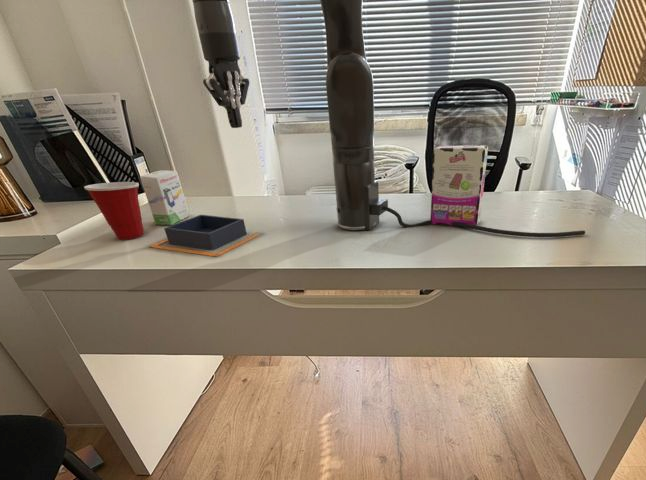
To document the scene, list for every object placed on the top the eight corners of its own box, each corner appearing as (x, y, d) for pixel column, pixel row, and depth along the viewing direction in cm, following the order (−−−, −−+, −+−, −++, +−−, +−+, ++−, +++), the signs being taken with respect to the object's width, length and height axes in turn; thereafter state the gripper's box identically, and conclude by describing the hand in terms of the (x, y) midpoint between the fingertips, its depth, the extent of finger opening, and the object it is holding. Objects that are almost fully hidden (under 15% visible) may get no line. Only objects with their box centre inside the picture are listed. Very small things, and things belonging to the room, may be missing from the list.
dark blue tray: (246, 234, 91) (243, 219, 89) (213, 250, 83) (208, 233, 81) (204, 228, 96) (200, 214, 94) (168, 243, 88) (163, 228, 86)
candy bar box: (480, 221, 92) (489, 144, 83) (476, 228, 88) (486, 148, 79) (434, 218, 96) (438, 144, 86) (429, 224, 92) (432, 147, 83)
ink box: (174, 215, 107) (159, 169, 101) (191, 216, 106) (177, 169, 100) (154, 225, 101) (137, 176, 94) (172, 225, 100) (155, 176, 93)
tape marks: (260, 234, 91) (260, 234, 91) (216, 256, 80) (216, 256, 80) (197, 227, 97) (196, 227, 97) (148, 247, 86) (148, 246, 86)
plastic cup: (165, 231, 96) (148, 179, 89) (127, 245, 88) (104, 189, 81) (136, 227, 100) (117, 177, 93) (96, 240, 92) (72, 186, 85)
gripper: (208, 27, 74) (230, 130, 84) (251, 33, 84) (266, 124, 94) (179, 31, 77) (204, 130, 87) (224, 36, 87) (242, 124, 97)
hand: (236, 127), depth 90 cm, fingers closed
